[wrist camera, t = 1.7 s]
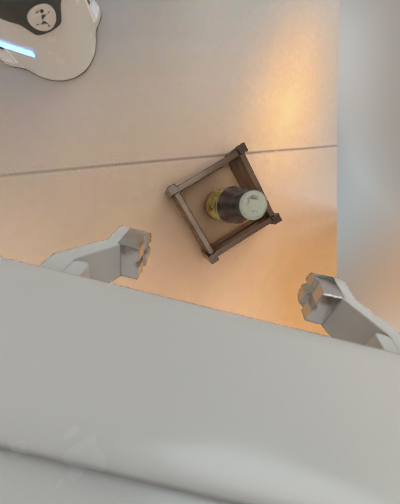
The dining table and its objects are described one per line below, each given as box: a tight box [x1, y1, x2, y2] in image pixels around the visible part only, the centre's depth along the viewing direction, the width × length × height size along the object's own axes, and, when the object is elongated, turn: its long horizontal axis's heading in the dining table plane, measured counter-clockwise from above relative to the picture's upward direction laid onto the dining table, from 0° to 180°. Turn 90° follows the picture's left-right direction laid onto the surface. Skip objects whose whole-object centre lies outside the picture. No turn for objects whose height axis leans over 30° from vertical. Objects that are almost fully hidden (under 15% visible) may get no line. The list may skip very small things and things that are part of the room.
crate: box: [166, 142, 282, 264], centre depth 46 cm, size 16×16×7 cm
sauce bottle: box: [205, 186, 267, 224], centre depth 40 cm, size 7×6×20 cm
